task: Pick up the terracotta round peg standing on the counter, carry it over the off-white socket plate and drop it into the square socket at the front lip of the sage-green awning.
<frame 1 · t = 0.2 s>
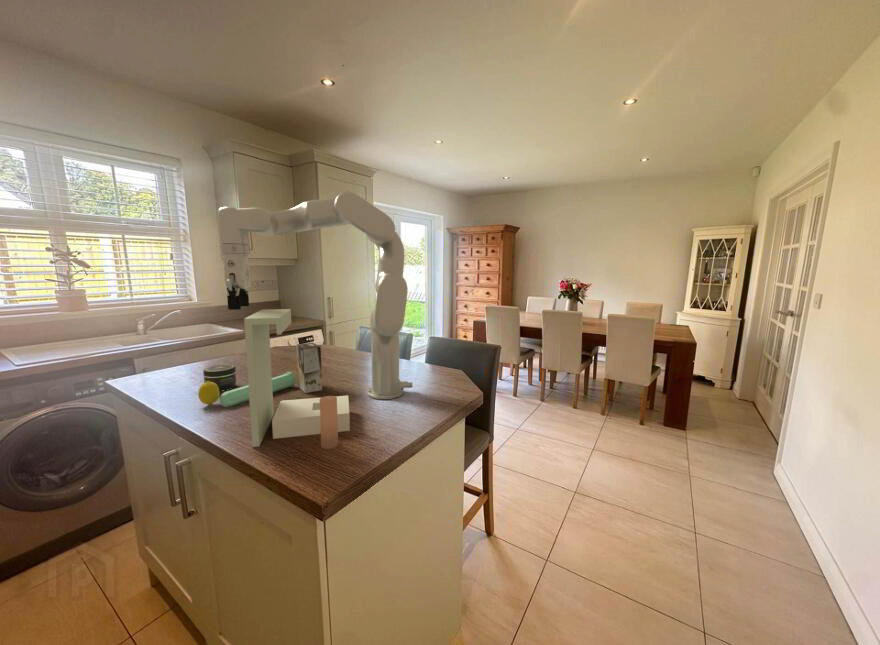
hand: (239, 307, 107), 31 cm above the countertop, tool pointing down, fingers open, 9 cm apart
awning: (264, 429, 95), on the countertop
lemon: (210, 406, 111), on the countertop
socket block: (314, 423, 99), on the countertop
peg: (329, 445, 87), on the countertop
coffee box: (310, 388, 128), on the countertop
jar: (221, 388, 128), on the countertop
container: (259, 397, 120), on the countertop
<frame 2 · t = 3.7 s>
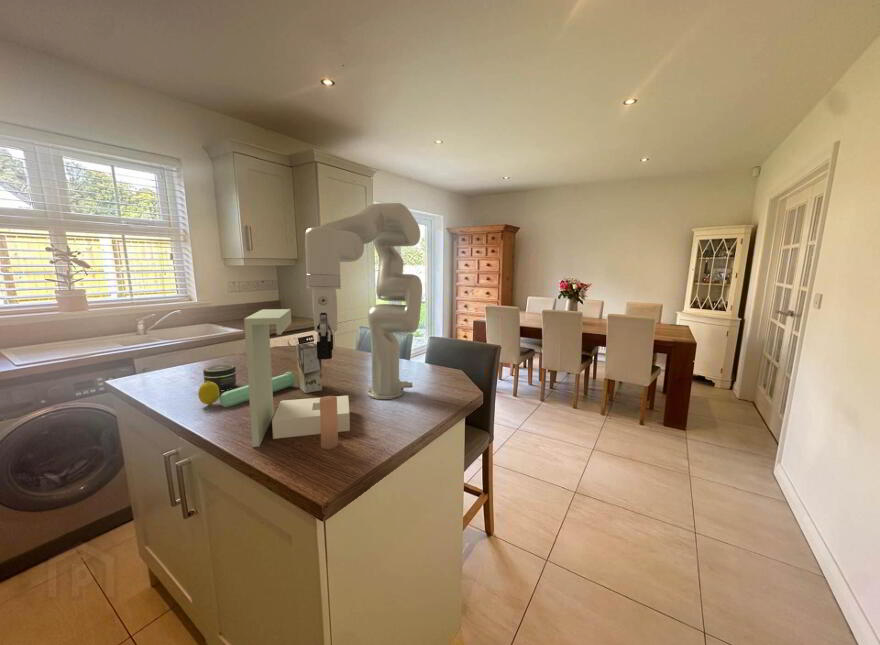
hand: (325, 354, 84), 23 cm above the countertop, tool pointing down, fingers open, 9 cm apart
nothing on the countertop moved.
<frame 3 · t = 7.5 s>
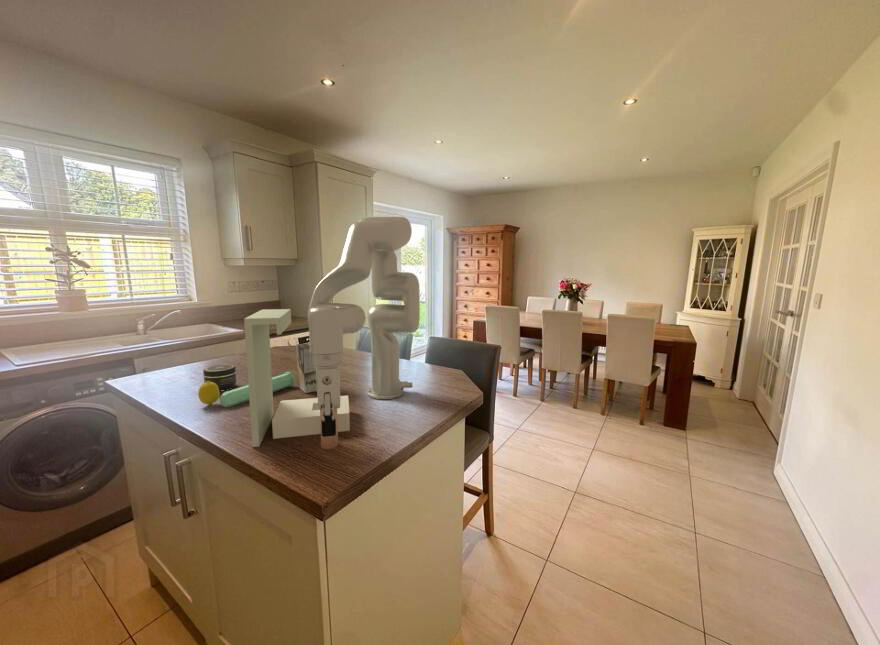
hand: (329, 430, 86), 4 cm above the countertop, tool pointing down, fingers closed on peg, 4 cm apart
peg: (329, 445, 87), on the countertop, touching gripper
everything else where it was.
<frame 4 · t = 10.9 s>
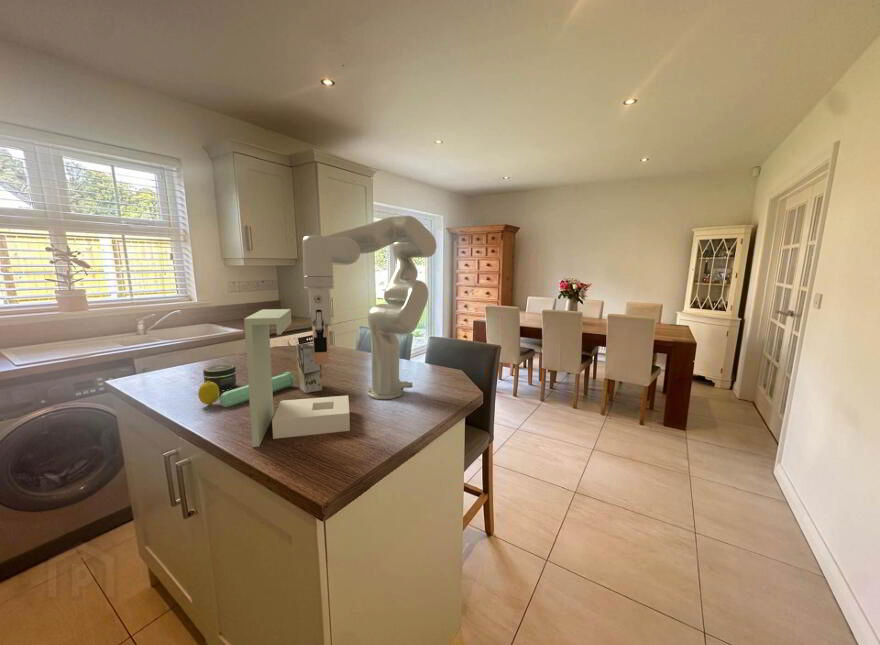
hand: (321, 349, 97), 21 cm above the countertop, tool pointing down, fingers closed on peg, 4 cm apart
peg: (321, 362, 97), point 17 cm above the countertop, touching gripper
everything else where it was.
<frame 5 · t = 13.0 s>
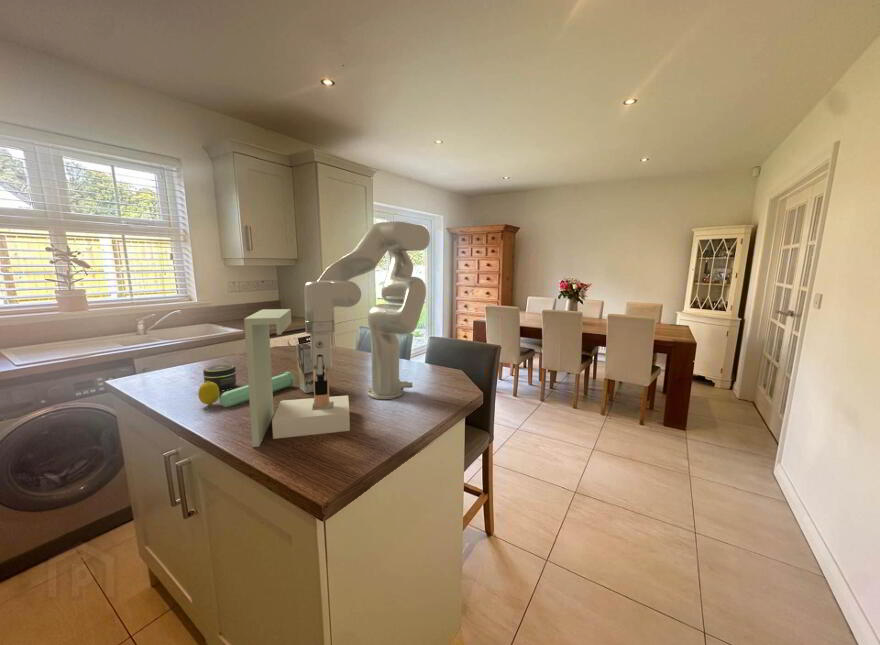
hand: (321, 391, 98), 9 cm above the countertop, tool pointing down, fingers closed on peg, 4 cm apart
peg: (321, 404, 98), point 6 cm above the countertop, touching gripper
everything else where it was.
when the fingers open (7 cm above the countertop, at t = 14.6 s): peg drops 2 cm, resting on socket block.
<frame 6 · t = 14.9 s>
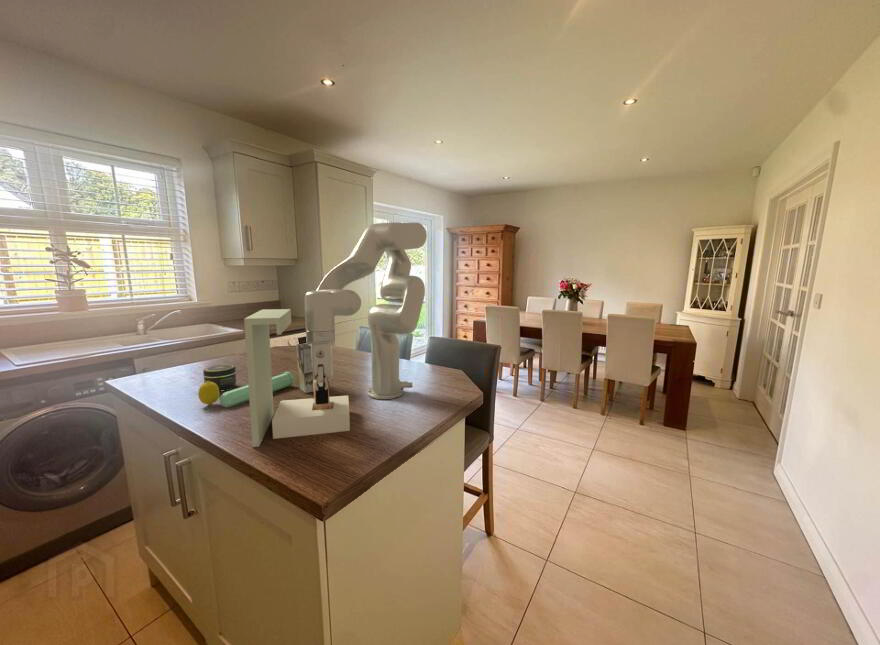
hand: (322, 398, 99), 7 cm above the countertop, tool pointing down, fingers open, 6 cm apart
peg: (323, 420, 100), resting on socket block
everything else where it was.
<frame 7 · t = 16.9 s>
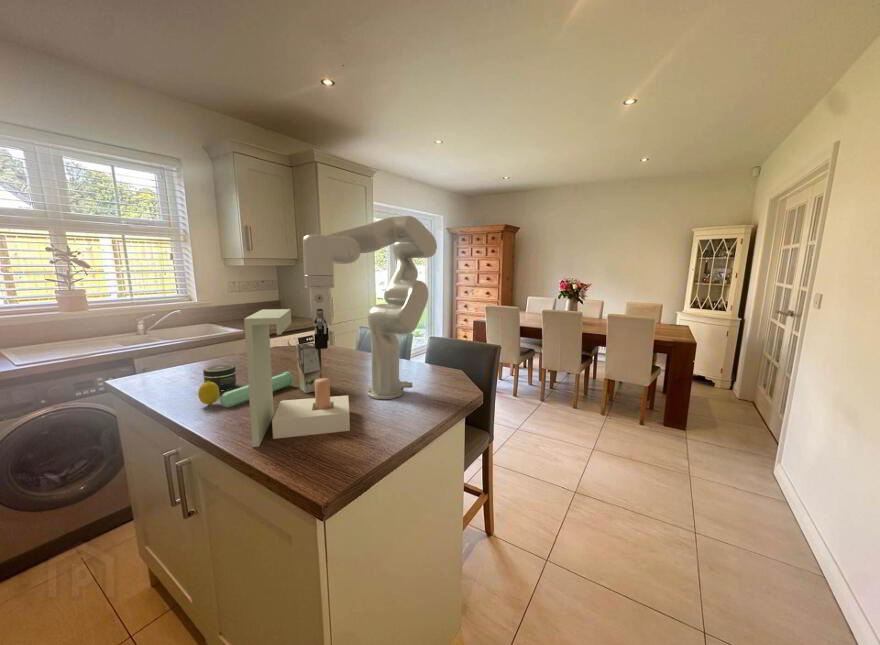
hand: (322, 344, 97), 22 cm above the countertop, tool pointing down, fingers open, 9 cm apart
nothing on the countertop moved.
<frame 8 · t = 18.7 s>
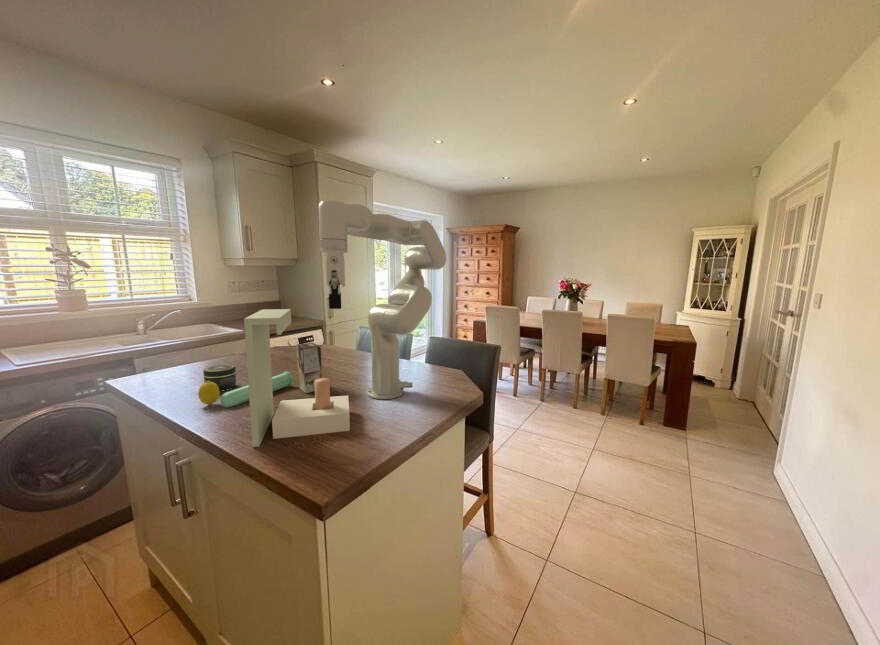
hand: (335, 307, 102), 32 cm above the countertop, tool pointing down, fingers open, 9 cm apart
nothing on the countertop moved.
at the end: peg 0.1 cm from the target spot on the socket block, point 0.4 cm above the socket block's base; peg tilted 1°; the gripper is holding nothing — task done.
